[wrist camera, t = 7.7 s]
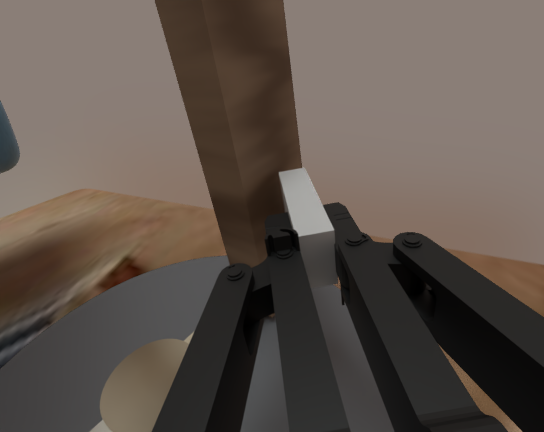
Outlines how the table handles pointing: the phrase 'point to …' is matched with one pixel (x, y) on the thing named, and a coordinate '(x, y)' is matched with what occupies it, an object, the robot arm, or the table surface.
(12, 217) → the table surface
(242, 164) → the brown bar with rod
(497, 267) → the table surface
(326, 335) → the dial plate
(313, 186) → the robot arm
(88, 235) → the table surface
